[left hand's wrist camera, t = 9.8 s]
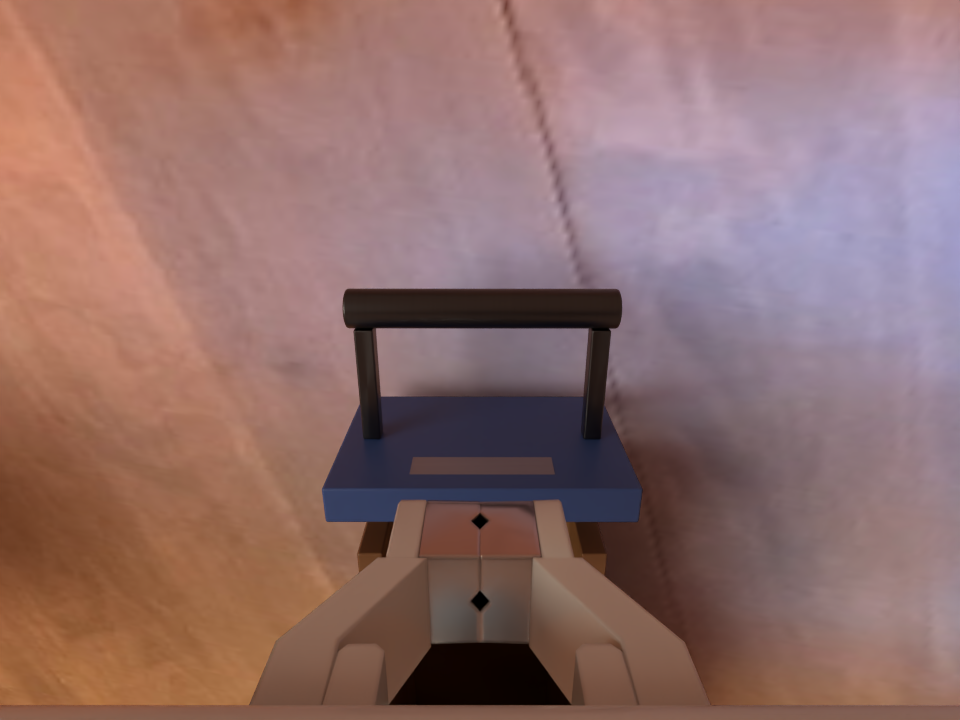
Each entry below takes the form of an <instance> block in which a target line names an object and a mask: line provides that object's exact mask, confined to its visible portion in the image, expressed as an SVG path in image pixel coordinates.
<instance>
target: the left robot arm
mask: <svg viewBox="0 0 960 720" xmlns="http://www.w3.org/2000/svg"><path fill="white" fill-rule="evenodd" d="M448 643H511V644H529V647H530V648H531V650H532V651H533V652H534V654H535V655H536V657H537V658H538V659H539V661H540V662H541V663H542V665H543V666H544V668H545V669H546V670H547V672H548V673H549V674H550V676H551V677H552V679H553V680H554V681H555V683H556V684H557V685H558V687H559V688H560V690H561V691H562V692H563V694H564V695H565V697H566V698H567V699H568V701H569V702H570V703H571V705H389V704H390V702H391V701H392V700H393V698H394V697H395V696H396V694H397V693H398V691H399V690H400V689H401V687H402V686H403V685H404V683H405V682H406V680H407V679H408V678H409V676H410V675H411V674H412V672H413V671H414V669H415V668H416V667H417V665H418V664H419V663H420V661H421V660H422V659H423V657H424V656H425V654H426V653H427V652H428V650H429V649H430V648H431V644H448ZM0 720H960V705H711V704H710V702H709V700H708V697H707V695H706V692H705V690H704V687H703V685H702V683H701V680H700V678H699V675H698V673H697V670H696V668H695V666H694V663H693V661H692V658H691V656H690V653H689V651H688V649H687V646H686V644H685V642H684V641H683V640H682V639H680V638H679V637H678V636H677V635H676V634H674V633H673V632H672V631H671V630H670V629H668V628H667V627H666V626H665V625H663V624H662V623H661V622H660V621H659V620H657V619H656V618H655V617H654V616H653V615H651V614H650V613H649V612H648V611H646V610H645V609H644V608H643V607H642V606H640V605H639V604H638V603H637V602H636V601H634V600H633V599H632V598H631V597H629V596H628V595H627V594H626V593H625V592H623V591H622V590H621V589H620V588H619V587H617V586H616V585H615V584H614V583H612V582H611V581H610V580H609V579H608V578H606V577H605V576H604V575H603V574H602V573H600V572H599V571H598V570H597V569H595V568H594V567H593V566H592V565H591V564H589V563H588V562H587V561H586V560H585V559H583V558H574V554H573V550H572V546H571V541H570V537H569V533H568V529H567V524H566V520H565V516H564V511H563V507H562V503H561V501H560V500H559V499H557V500H533V501H491V502H480V501H457V500H428V501H427V500H401V501H400V502H399V503H398V507H397V511H396V515H395V520H394V524H393V528H392V533H391V537H390V541H389V546H388V550H387V554H386V558H377V559H376V560H374V561H373V562H372V563H371V564H369V565H368V566H367V567H366V568H365V569H363V570H362V571H361V572H360V573H358V574H357V575H356V576H355V577H354V578H352V579H351V580H350V581H349V582H347V583H346V584H345V585H344V586H343V587H341V588H340V589H339V590H338V591H336V592H335V593H334V594H333V595H332V596H330V597H329V598H328V599H327V600H325V601H324V602H323V603H322V604H321V605H319V606H318V607H317V608H316V609H314V610H313V611H312V612H311V613H310V614H308V615H307V616H306V617H305V618H304V619H302V620H301V621H300V622H299V623H297V624H296V625H295V626H294V627H293V628H291V629H290V630H289V631H288V632H286V633H285V634H284V635H283V636H282V637H280V638H279V639H278V640H277V641H276V642H275V644H274V647H273V649H272V652H271V654H270V656H269V659H268V661H267V664H266V666H265V668H264V671H263V673H262V676H261V678H260V680H259V683H258V685H257V688H256V690H255V692H254V695H253V697H252V700H251V702H250V704H249V705H0Z"/></svg>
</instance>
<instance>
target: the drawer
mask: <svg viewBox="0 0 960 720" xmlns="http://www.w3.org/2000/svg"><path fill="white" fill-rule="evenodd" d="M621 317H622V298H621V294H620V291H619V290H618V289H347V290H346V291H345V293H344V297H343V318H344V322H345V325H346V327H347V328H355V330H354V341H355V353H356V364H357V375H358V386H359V397H360V405H359V407H358V409H357V412H356V414H355V416H354V418H353V421H352V423H351V425H350V427H349V430H348V432H347V434H346V436H345V439H344V441H343V443H342V445H341V448H340V450H339V452H338V454H337V457H336V459H335V461H334V463H333V466H332V468H331V470H330V472H329V475H328V477H327V479H326V481H325V484H324V486H323V488H322V494H323V502H324V510H325V518H326V521H327V522H367V523H366V526H365V529H364V533H363V536H362V540H361V543H360V547H359V550H358V553H357V556H358V566H359V573H360V572H361V571H362V570H363V569H365V568H366V567H367V566H368V565H369V564H371V563H372V562H373V561H374V560H376V559H377V558H386V554H387V550H388V546H389V541H390V537H391V533H392V528H393V524H394V520H395V515H396V511H397V507H398V503H399V502H400V501H401V500H427V501H428V500H457V501H480V502H491V501H533V500H557V499H559V500H560V501H561V503H562V507H563V511H564V516H565V520H566V524H567V529H568V533H569V537H570V541H571V546H572V550H573V554H574V558H583V559H585V560H586V561H587V562H588V563H589V564H591V565H592V566H593V567H594V568H595V569H597V570H598V571H599V572H600V573H602V574H603V575H604V576H605V569H606V560H607V552H606V549H605V546H604V542H603V539H602V536H601V532H600V529H599V526H598V522H638V521H639V514H640V506H641V499H642V491H643V490H642V487H641V485H640V483H639V481H638V478H637V476H636V474H635V472H634V470H633V467H632V465H631V463H630V461H629V459H628V456H627V454H626V452H625V450H624V448H623V445H622V443H621V441H620V439H619V437H618V434H617V432H616V430H615V428H614V426H613V423H612V421H611V419H610V417H609V414H608V412H607V410H606V408H605V406H604V401H605V390H606V379H607V369H608V358H609V348H610V337H611V330H610V329H609V328H618V326H619V324H620V321H621ZM376 328H589V333H588V345H587V358H586V371H585V384H584V396H583V397H381V393H380V380H379V366H378V353H377V339H376ZM389 705H571V703H570V702H569V701H568V699H567V698H566V697H565V695H564V694H563V692H562V691H561V690H560V688H559V687H558V685H557V684H556V683H555V681H554V680H553V679H552V677H551V676H550V674H549V673H548V672H547V670H546V669H545V668H544V666H543V665H542V663H541V662H540V661H539V659H538V658H537V657H536V655H535V654H534V652H533V651H532V650H531V648H530V647H529V644H511V643H448V644H431V648H430V649H429V650H428V652H427V653H426V654H425V656H424V657H423V659H422V660H421V661H420V663H419V664H418V665H417V667H416V668H415V669H414V671H413V672H412V674H411V675H410V676H409V678H408V679H407V680H406V682H405V683H404V685H403V686H402V687H401V689H400V690H399V691H398V693H397V694H396V696H395V697H394V698H393V700H392V701H391V702H390V704H389Z"/></svg>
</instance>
